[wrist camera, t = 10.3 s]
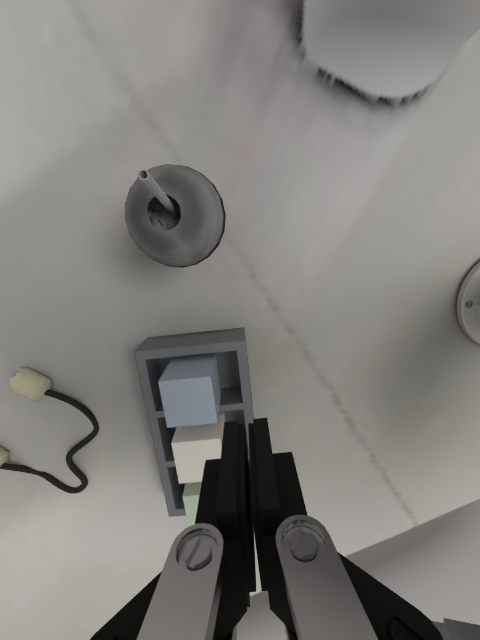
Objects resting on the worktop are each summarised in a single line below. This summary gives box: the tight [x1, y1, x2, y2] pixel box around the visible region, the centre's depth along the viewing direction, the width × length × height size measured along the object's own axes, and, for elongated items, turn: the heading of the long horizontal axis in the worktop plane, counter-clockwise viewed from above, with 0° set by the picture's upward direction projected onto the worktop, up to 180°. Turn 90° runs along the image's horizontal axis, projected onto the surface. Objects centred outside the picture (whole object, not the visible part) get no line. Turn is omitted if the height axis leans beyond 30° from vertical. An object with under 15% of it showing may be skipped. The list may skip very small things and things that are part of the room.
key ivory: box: [171, 411, 225, 484], centre depth 33 cm, size 5×5×6 cm
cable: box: [0, 367, 99, 493], centre depth 38 cm, size 16×16×4 cm
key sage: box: [183, 482, 202, 527], centre depth 35 cm, size 5×5×6 cm
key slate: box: [158, 353, 221, 428], centre depth 31 cm, size 5×5×6 cm
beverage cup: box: [125, 164, 226, 268], centre depth 23 cm, size 7×7×20 cm
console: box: [134, 328, 254, 517], centre depth 36 cm, size 12×22×5 cm, turn 6°
